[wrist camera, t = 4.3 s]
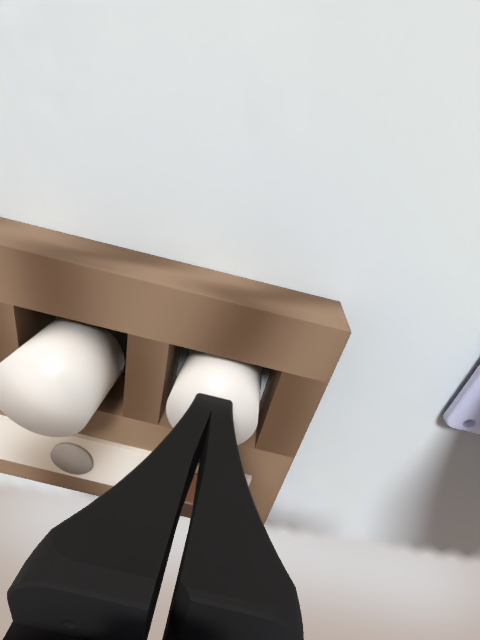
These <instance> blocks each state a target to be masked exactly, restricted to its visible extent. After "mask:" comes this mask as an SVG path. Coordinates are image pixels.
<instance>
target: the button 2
mask: <svg viewBox="0 0 480 640" xmlns="http://www.w3.org/2000/svg"><path fill="white" fill-rule="evenodd" d="M261 376H262V367H261V366H258V365H254V364H250V363H246V362H241V361H237V360H233V359H229V358H225V357H221V356H217V355H213V354H209V353H205V352H201V351H197V350H193V349H190V350H189V352H188V354H187V356H186V359H185V361H184V363H183V365H182V368H181V370H180V372H179V375H178V377H177V379H176V381H175V384H174V386H173V388H172V391H171V393H170V395H169V398H168V400H167V403H166V414H167V418H168V420H169V423H170V424H171V426H172V427H173V428H174V427H175V425H176V424H177V423H178V422H179V420H180V419H181V418H182V417H183V415H184V414H185V412H186V411H187V410H188V408H189V407H190V405H191V403H192V402H193V400H194V398H195V396H196V394H198V393H203V394H207V395H211V396H215V397H219V398H223V399H227V400H231V401H232V403H233V422H234V429H235V436H236V441H237V445H239V444H242V443H243V442H245V441H246V440H248V439H249V438H250V437H251V436H252V435H253V433H254V432H255V430H256V427H257V424H258V414H259V401H260V388H261Z"/></svg>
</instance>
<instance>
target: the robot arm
mask: <svg viewBox="0 0 480 640" xmlns="http://www.w3.org/2000/svg"><path fill="white" fill-rule="evenodd" d="M443 417H444V420H445V422H446V424H447V425H448V426H449V427H452V428H455V429H459V430H463V431H467V432H471V433H475V434H479V435H480V365H479V366H478V367H477V369H476V370H475V372H474V373H473V374H472V376H471V377H470V379H469V380H468V381H467V383H466V384H465V385H464V387H463V388H462V390H461V391H460V392H459V394H458V395H457V397H456V398H455V399H454V401H453V402H452V404H451V405H450V406H449V408H448V409H447V410H446V412H445V413H444V416H443ZM466 420H468V421H466ZM199 460H200V462H199ZM198 463H199V468H198V475H197V481H196V487H195V494H194V501H193V507H192V514H191V519H190V525H189V531H188V534H187V539H186V543H185V547H184V551H183V556H182V560H181V564H180V568H179V572H178V577H177V581H176V585H175V589H174V593H173V597H172V602H171V606H170V610H169V614H168V618H167V623H166V627H165V631H164V635H163V639H162V640H304V639H303V623H302V616H301V610H300V605H299V600H298V596H297V591H296V587H295V585H294V584H293V582H292V580H291V578H290V577H289V575H288V573H287V571H286V570H285V568H284V566H283V564H282V562H281V560H280V558H279V557H278V555H277V553H276V550H275V548H274V546H273V545H272V542H271V541H270V538H269V536H268V534H267V532H266V529H265V527H264V525H263V523H262V520H261V518H260V516H259V513H258V511H257V509H256V506H255V503H254V501H253V498H252V495H251V492H250V490H249V487H248V484H247V481H246V477H245V474H244V471H243V467H242V463H241V459H240V455H239V451H238V446H237V441H236V436H235V429H234V422H233V403H232V401H231V400H227V399H223V398H219V397H215V396H211V395H207V394H203V393H198V394H196V396H195V398H194V400H193V402H192V403H191V405H190V407H189V408H188V410H187V411H186V412H185V414H184V415H183V417H182V418H181V419H180V420H179V422H178V423H177V424H176V425H175V427H174V428H173V429H172V430H171V432H170V433H169V434H168V435H167V436H166V437H165V438H164V439H163V441H162V442H161V443H160V444H159V445H158V446H157V447H156V448H155V449H154V450H153V451H152V452H151V453H150V454H149V455H148V456H147V457H146V458H145V459H144V460H143V461H142V462H141V463H140V464H139V465H138V466H137V467H136V468H134V469H133V470H132V471H131V472H130V473H129V474H127V475H126V476H125V477H124V478H123V479H122V480H120V481H119V482H118V483H117V484H116V485H114V486H113V487H112V488H110V489H109V490H108V491H106V492H105V493H104V494H102V495H101V496H100V497H98V498H97V499H96V500H94V501H93V502H92V503H90V504H89V505H88V506H86V507H85V508H83V509H82V510H80V511H79V512H77V513H76V514H74V515H73V516H71V517H70V518H68V519H66V520H65V521H64V522H62V523H60V524H59V525H57V526H56V527H54V528H53V529H51V531H50V532H49V533H48V534H47V535H46V536H45V538H44V539H43V540H42V541H41V542H40V543H39V544H38V546H37V547H36V548H35V550H34V551H33V552H32V554H31V555H30V556H29V558H28V559H27V560H26V562H25V563H24V565H23V566H22V568H21V570H20V572H19V573H18V575H17V576H16V578H15V580H14V581H13V583H12V585H11V587H10V588H9V590H8V592H7V600H8V604H9V608H10V611H11V615H12V619H13V622H12V624H11V626H10V628H9V629H8V631H7V633H6V635H5V637H4V638H3V640H147V637H148V634H149V630H150V626H151V622H152V618H153V614H154V611H155V607H156V603H157V599H158V595H159V591H160V588H161V584H162V580H163V576H164V572H165V568H166V565H167V561H168V557H169V553H170V549H171V546H172V542H173V538H174V534H175V530H176V527H177V523H178V520H179V517H180V514H181V511H182V508H183V505H184V502H185V500H186V497H187V494H188V491H189V488H190V485H191V483H192V480H193V477H194V474H195V471H196V468H197V465H198Z"/></svg>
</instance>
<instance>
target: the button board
mask: <svg viewBox="0 0 480 640" xmlns="http://www.w3.org/2000/svg"><path fill="white" fill-rule="evenodd" d="M55 316H59V317H63V318H67V319H71V320H75V321H79V322H83V323H87V324H91V325H95V326H99V327H103V328H107V329H111V330H115V331H120V332H124V333H128V338H127V354H126V369H125V376H122V375H120V376H119V378H118V379H117V381H116V382H115V384H114V385H113V386H112V388H111V389H110V391H109V392H108V394H107V395H106V397H105V398H104V400H103V401H102V403H101V404H100V405H99V407H98V408H97V410H96V411H95V413H94V414H93V416H92V417H91V419H90V420H89V422H88V423H87V424H86V426H85V427H84V428H83V429H82V430H81V431H80V432H78V433H76V434H74V435H71V436H67V437H48V436H43V435H40V434H36V433H34V432H31V431H29V430H27V429H25V428H23V427H21V426H19V425H18V424H16V423H15V422H13V421H12V420H11V419H10V418H8V417H7V416H6V415H5V414H4V413H3V412H2V411H1V410H0V473H4V474H9V475H13V476H17V477H21V478H25V479H30V480H34V481H38V482H42V483H46V484H50V485H55V486H59V487H63V488H67V489H71V490H75V491H80V492H84V493H88V494H92V495H96V496H101V495H102V494H104V493H105V492H106V491H108V490H109V489H110V488H112V487H113V486H114V485H116V484H117V483H118V482H119V481H120V480H122V479H123V478H124V477H125V476H126V475H127V474H129V473H130V472H131V471H132V470H133V469H134V468H136V467H137V466H138V465H139V464H140V463H141V462H142V461H143V460H144V459H145V458H146V457H147V456H148V455H149V454H150V453H151V452H152V451H153V450H154V449H155V448H156V447H157V446H158V445H159V444H160V443H161V442H162V441H163V439H164V438H165V437H166V436H167V435H168V434H169V433H170V432H171V430H172V429H173V427H172V426H171V424H170V423H169V420H168V418H167V414H166V403H167V400H168V398H169V395H170V393H171V391H172V388H173V386H174V384H175V377H176V371H177V365H178V359H179V352H180V347H185V348H189V349H193V350H197V351H201V352H205V353H209V354H213V355H217V356H221V357H225V358H229V359H233V360H237V361H241V362H246V363H250V364H254V365H258V366H262V367H266V368H270V369H271V372H270V375H269V378H268V381H267V384H266V387H265V389H264V392H263V395H262V398H261V401H260V404H259V414H258V424H257V427H256V430H255V432H254V433H253V435H252V436H251V437H250V438H249V439H248V440H246V441H245V442H243V443H242V444H239V445H237V446H238V451H239V455H240V459H241V463H242V467H243V471H244V474H245V477H246V481H247V484H248V487H249V490H250V492H251V495H252V498H253V501H254V503H255V506H256V509H257V511H258V513H259V516H260V518H261V520H262V523H263V525H264V523H265V521H266V519H267V517H268V515H269V512H270V510H271V508H272V506H273V504H274V501H275V499H276V497H277V495H278V493H279V490H280V488H281V486H282V484H283V482H284V479H285V477H286V475H287V473H288V471H289V468H290V466H291V464H292V462H293V460H294V457H295V455H296V453H297V451H298V449H299V446H300V444H301V442H302V440H303V438H304V435H305V433H306V431H307V429H308V427H309V424H310V422H311V420H312V418H313V416H314V413H315V411H316V409H317V407H318V405H319V403H320V400H321V398H322V396H323V394H324V392H325V389H326V387H327V385H328V383H329V381H330V378H331V376H332V374H333V372H334V370H335V367H336V365H337V363H338V361H339V359H340V356H341V354H342V352H343V350H344V348H345V345H346V343H347V341H348V339H349V337H350V334H351V330H350V327H349V325H348V322H347V319H346V317H345V314H344V311H343V309H342V306H341V303H340V302H338V301H334V300H330V299H326V298H322V297H318V296H314V295H310V294H306V293H302V292H298V291H294V290H290V289H286V288H282V287H278V286H274V285H270V284H266V283H262V282H258V281H254V280H250V279H246V278H242V277H238V276H234V275H230V274H226V273H222V272H218V271H214V270H210V269H206V268H202V267H198V266H194V265H190V264H186V263H182V262H178V261H174V260H170V259H166V258H162V257H158V256H154V255H150V254H146V253H142V252H138V251H134V250H130V249H126V248H122V247H118V246H114V245H110V244H106V243H102V242H98V241H94V240H90V239H86V238H82V237H78V236H74V235H70V234H66V233H62V232H58V231H54V230H50V229H46V228H41V227H37V226H33V225H29V224H25V223H21V222H17V221H13V220H9V219H5V218H1V217H0V363H1V362H2V361H3V360H4V359H6V358H7V357H8V356H9V355H11V354H12V353H13V352H15V351H16V350H17V349H18V348H20V347H21V346H22V345H23V344H25V343H26V342H27V341H28V340H30V339H31V338H32V337H34V336H35V335H36V334H37V333H39V332H40V331H41V330H42V329H44V328H45V327H46V326H47V325H49V324H50V323H51V322H52V321H54V320H56V319H55ZM199 462H200V460H199ZM198 468H199V463H198V465H197V468H196V471H195V474H194V477H193V480H192V483H191V485H190V488H189V491H188V494H187V497H186V500H185V502H184V505H183V508H182V511H181V514H180V516H184V517H188V518H191V514H192V507H193V501H194V494H195V487H196V481H197V475H198Z"/></svg>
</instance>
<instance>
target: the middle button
mask: <svg viewBox="0 0 480 640" xmlns="http://www.w3.org/2000/svg"><path fill="white" fill-rule="evenodd" d="M123 368H124V354H123V351H122V348H121V346H120V344H119V343H118V341H117V340H116V338H115V337H114V336H113V335H112V334H111V333H110V332H109V331H108V330H107V329H106V328H103V327H99V326H95V325H91V324H87V323H83V322H79V321H75V320H71V319H67V318H63V317H61V318H58V319H56V320H54V321H52V322H51V323H50V324H49V325H47V326H46V327H45V328H44V329H42V330H41V331H40V332H39V333H37V334H36V335H35V336H34V337H32V338H31V339H30V340H28V341H27V342H26V343H25V344H23V345H22V346H21V347H20V348H18V349H17V350H16V351H15V352H13V353H12V354H11V355H9V356H8V357H7V358H6V359H4V360H3V361H2V362H1V363H0V410H1V411H2V412H3V413H4V414H5V415H6V416H7V417H8V418H10V419H11V420H12V421H13V422H15V423H16V424H18V425H19V426H21V427H23V428H25V429H27V430H29V431H31V432H34V433H36V434H40V435H43V436H48V437H67V436H71V435H74V434H76V433H78V432H80V431H81V430H82V429H83V428H84V427H85V426H86V424H87V423H88V422H89V420H90V419H91V417H92V416H93V414H94V413H95V411H96V410H97V408H98V407H99V405H100V404H101V403H102V401H103V400H104V398H105V397H106V395H107V394H108V392H109V391H110V389H111V388H112V386H113V385H114V384H115V382H116V381H117V379H118V378H119V376H120V375H121V373H122V371H123Z"/></svg>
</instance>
